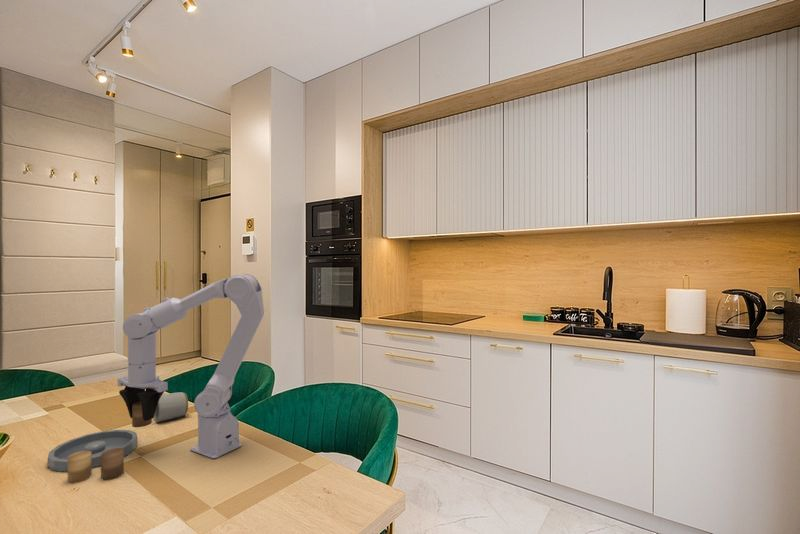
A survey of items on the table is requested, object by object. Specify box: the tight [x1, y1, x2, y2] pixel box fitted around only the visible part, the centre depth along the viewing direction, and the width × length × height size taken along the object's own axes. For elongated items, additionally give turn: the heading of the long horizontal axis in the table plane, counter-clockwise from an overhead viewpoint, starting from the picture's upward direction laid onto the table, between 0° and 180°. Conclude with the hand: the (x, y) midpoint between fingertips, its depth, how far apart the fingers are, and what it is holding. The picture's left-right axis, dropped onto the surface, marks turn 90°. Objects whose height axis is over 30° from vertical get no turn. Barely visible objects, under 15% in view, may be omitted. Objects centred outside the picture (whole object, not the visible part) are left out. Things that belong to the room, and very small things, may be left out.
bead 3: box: [131, 401, 153, 428], centre depth 96 cm, size 4×4×5 cm
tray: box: [47, 429, 139, 473], centre depth 96 cm, size 17×17×2 cm
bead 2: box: [100, 448, 125, 481], centre depth 86 cm, size 4×4×5 cm
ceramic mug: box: [153, 391, 189, 423], centre depth 120 cm, size 11×8×8 cm
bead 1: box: [67, 451, 93, 484], centre depth 85 cm, size 4×4×5 cm
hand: (142, 417), depth 96 cm, fingers closed on bead 3, 4 cm apart
